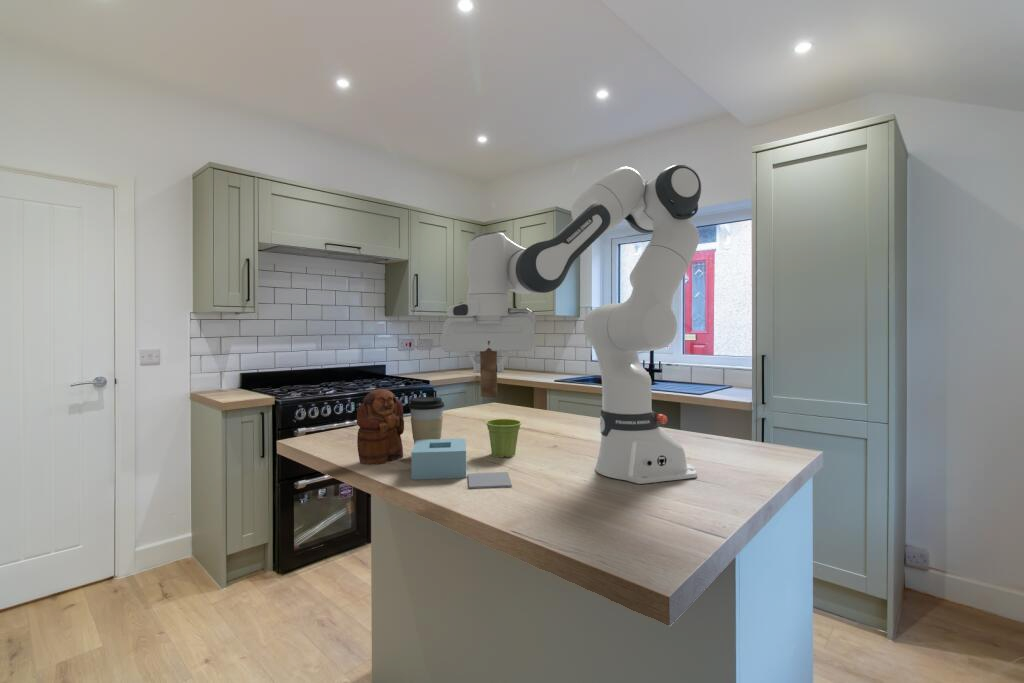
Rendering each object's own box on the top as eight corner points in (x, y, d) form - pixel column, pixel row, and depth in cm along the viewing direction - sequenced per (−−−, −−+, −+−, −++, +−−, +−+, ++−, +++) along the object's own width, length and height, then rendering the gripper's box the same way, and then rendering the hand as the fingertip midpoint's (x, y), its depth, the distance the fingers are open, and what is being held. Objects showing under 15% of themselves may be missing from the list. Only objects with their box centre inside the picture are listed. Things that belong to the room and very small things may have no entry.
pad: (507, 473, 111) (507, 472, 111) (511, 486, 102) (511, 484, 102) (468, 475, 110) (468, 473, 110) (468, 488, 101) (468, 486, 101)
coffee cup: (442, 461, 121) (441, 401, 121) (404, 461, 121) (403, 401, 121) (447, 451, 131) (447, 396, 130) (412, 451, 131) (412, 396, 130)
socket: (465, 462, 120) (465, 438, 120) (466, 477, 108) (465, 450, 108) (416, 464, 119) (416, 439, 119) (411, 479, 107) (411, 452, 107)
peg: (496, 394, 107) (496, 340, 107) (497, 396, 103) (497, 340, 103) (480, 394, 107) (479, 340, 106) (481, 397, 103) (480, 341, 103)
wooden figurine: (370, 467, 116) (369, 393, 116) (355, 463, 120) (353, 390, 120) (409, 456, 126) (408, 387, 125) (393, 452, 130) (392, 386, 129)
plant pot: (500, 448, 134) (500, 417, 133) (528, 453, 128) (528, 421, 128) (478, 456, 126) (478, 422, 126) (507, 461, 121) (507, 427, 120)
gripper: (533, 308, 109) (533, 370, 109) (441, 309, 107) (442, 371, 107) (537, 307, 102) (538, 372, 103) (440, 308, 100) (441, 374, 101)
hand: (488, 372), depth 105 cm, fingers closed on peg, 4 cm apart
